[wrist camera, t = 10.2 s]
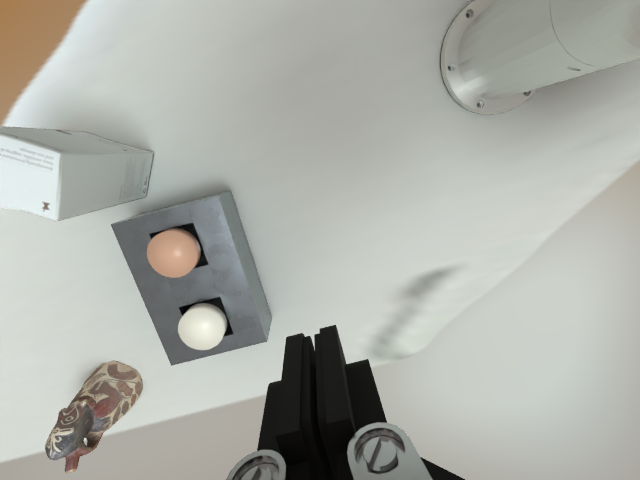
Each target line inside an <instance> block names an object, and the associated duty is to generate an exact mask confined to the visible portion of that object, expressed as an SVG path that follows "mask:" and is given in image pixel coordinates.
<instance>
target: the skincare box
mask: <svg viewBox="0 0 640 480" xmlns="http://www.w3.org/2000/svg"><path fill="white" fill-rule="evenodd" d="M152 160H153V152H151V151H148V150H142V149H138V148H134V147H131V146H127V145H124V144H120V143H117V142H114V141H111V140H108V139H105V138H102V137H99V136H96V135H94V134H91V133H87V132H78V131H63V130H50V129H36V128H22V127H1V126H0V207H1V208H4V209H8V210H20V211H24V212H27V213H31V214H35V215H38V216H41V217H44V218H46V219H49V220H52V221H60V220H64V219H67V218H71V217H75V216H78V215H82V214H86V213H89V212H93V211H97V210H100V209H104V208H108V207H111V206H115V205H119V204H123V203H126V202H130V201H134V200H137V199H141V198H145V197H146V194H147V189H148V182H149V177H150V171H151V166H152Z"/></svg>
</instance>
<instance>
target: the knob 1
mask: <svg viewBox="0 0 640 480" xmlns="http://www.w3.org/2000/svg"><path fill="white" fill-rule="evenodd" d="M202 251H203V248H202V245H201V242H200V240H199V237H198V234H197V231H196V229H195V226H194V224H189V225H187V226H185V227H183V228H182V229H178V228H173V229H168V230H165V231H163V232H161V233H160V234H158V235H156V236H155V237H154V238H152V240H151V241H150V243H149V245H148V248H147V258H148V261H149V263H150V265H151V266H152V268H153V269H154V270H155V271H156V272H158V273H159V274H161V275H163V276H166V277H170V278H177V277H182V276H184V275H186V274H188V273H189V272H190V271H191V270H192V269H193V268H194V267H195V266H196V265H197V263H198V262H199V260H200V256H201V252H202Z"/></svg>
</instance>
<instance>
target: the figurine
mask: <svg viewBox="0 0 640 480" xmlns="http://www.w3.org/2000/svg"><path fill="white" fill-rule="evenodd" d="M141 391H142V379H141V376H140V374H139V373H138V372H137V370H135V369H133V368H131V367H130V366H127V365H125V364H121V363H119V362H117V361H111V362H108V363H103V364H101V365H100V366H99V367H98V368H97V370H96V371H95V372H94V373H93V374H92V375H91V376H90V377H89V378H88V379H87V380H86V381H85V383H84V385H83V387H82V389H81V390H80V391H79V393H78V394H77V395H76V396H75V398H74V399H73V400H72V402H71V403H70V405H69V406H68V408H64V409H62V410H61V411H60V412H59V416H58V421H57V424H56V425H55V427H54V428H53V430H52V431H51V434H50V435H49V438H48V440H47V442H46V445H45V450H46V453H47V456H48V457H49V458H50V459H52V460H57V459H60V458H63V457H66V466H65V472H66V473H71V472H73V471H75V470H76V469H77V466H78V462H79V458H80V456H83V455H85V454H87V453H89V452H91V451H93V450H94V449H95V448H96V447H97V445H98V443H99V441H100V439H101V437H102V435H103V433H104V432H105V431H106V430H107V429H109V428H110V427H111V426H112V425H114V424H115V423H116V422H117V421H118V420H119V419H120V418H121V417H122V416H124V415H125V414H126V413H127V412H128V411H129V410H130V408H131V407H132V406H133V405H134V403H135V402H136V401H137V399H138V398H139V396H140V393H141ZM84 437H85V438H86V439H87V441H88V442H87V446H86V445H85V444H84V441H83V440H84Z"/></svg>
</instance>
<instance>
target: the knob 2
mask: <svg viewBox="0 0 640 480" xmlns="http://www.w3.org/2000/svg"><path fill="white" fill-rule="evenodd" d="M226 316H227V314H226V311H225V309H224V306H223V303H222V300H221V298H220V297H216V298H213V299H209V300H205V301H201V303H200V304H196V305H194V306H192V307H190V308H189V309H188V310H187V311H186V313H185V314H184V315H183V317H182V318H181V319H180V321H179V324H178V333H179V336H180V338H181V340H182V341H183V342H184V343H185V344H186V345H187V346H189V347H191V348H193V349H196V350H208V349H211V348H214V347H215V346H217V345H218V344H219V343H220V341H221V340H222V338H223V336H224V333H225V331H226V329H227V319H226Z"/></svg>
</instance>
